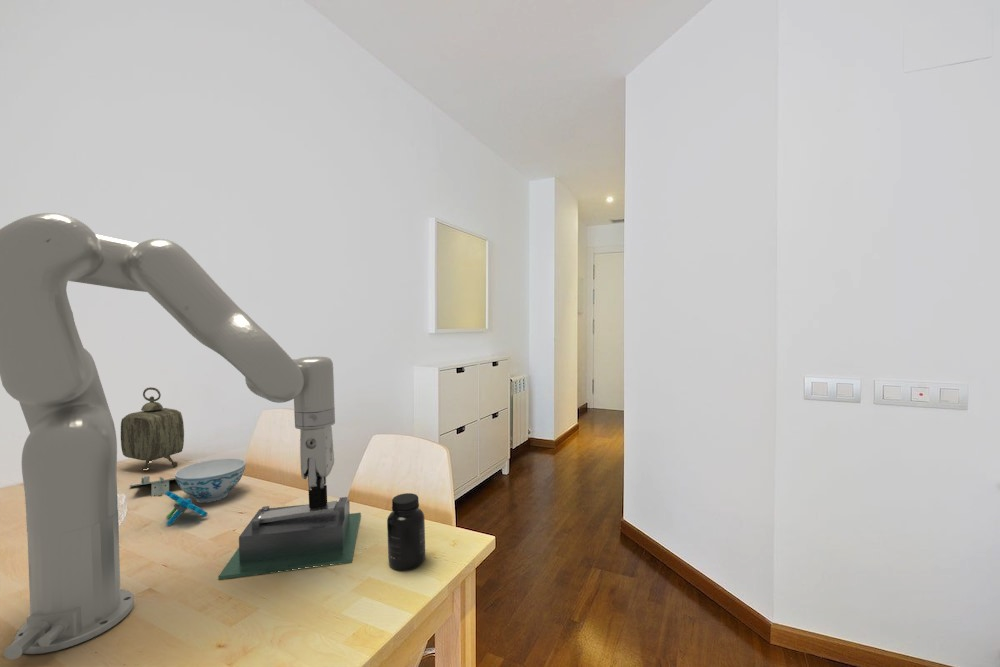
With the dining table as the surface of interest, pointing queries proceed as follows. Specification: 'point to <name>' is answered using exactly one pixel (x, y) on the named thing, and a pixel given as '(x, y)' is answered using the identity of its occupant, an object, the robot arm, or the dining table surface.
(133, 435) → the tabletop clock
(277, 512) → the steel strap
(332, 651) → the dining table surface
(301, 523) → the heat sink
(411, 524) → the supplement bottle
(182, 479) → the chinaware
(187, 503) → the gear
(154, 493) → the metal bracket
